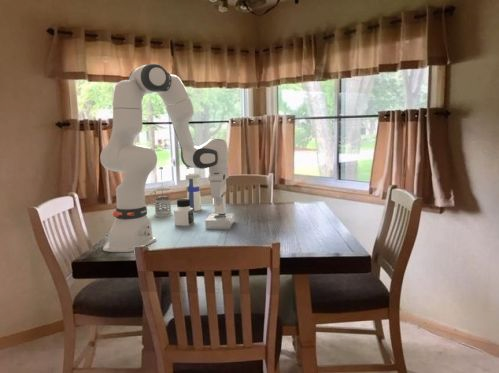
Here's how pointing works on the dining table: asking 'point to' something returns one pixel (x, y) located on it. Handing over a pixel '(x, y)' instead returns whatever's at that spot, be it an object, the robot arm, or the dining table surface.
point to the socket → (219, 221)
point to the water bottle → (193, 191)
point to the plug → (220, 208)
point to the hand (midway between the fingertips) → (219, 204)
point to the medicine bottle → (183, 213)
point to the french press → (166, 200)
